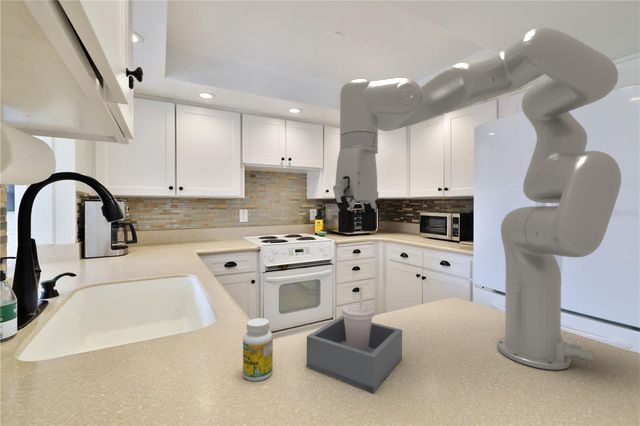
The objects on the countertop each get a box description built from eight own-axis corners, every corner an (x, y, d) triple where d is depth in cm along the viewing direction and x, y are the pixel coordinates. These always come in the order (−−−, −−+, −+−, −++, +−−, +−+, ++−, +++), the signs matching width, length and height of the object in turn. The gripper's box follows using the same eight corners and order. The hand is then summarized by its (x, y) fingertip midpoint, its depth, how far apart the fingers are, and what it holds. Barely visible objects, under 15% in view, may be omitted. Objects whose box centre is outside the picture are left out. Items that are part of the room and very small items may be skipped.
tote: (401, 358, 59) (402, 329, 59) (373, 393, 48) (374, 357, 48) (342, 341, 67) (343, 315, 67) (306, 367, 55) (306, 336, 56)
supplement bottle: (278, 370, 54) (278, 320, 54) (259, 385, 49) (259, 329, 50) (256, 363, 57) (257, 314, 57) (236, 376, 52) (236, 323, 52)
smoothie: (373, 367, 54) (374, 292, 54) (339, 364, 55) (340, 290, 55) (373, 351, 60) (374, 284, 60) (343, 348, 61) (343, 282, 61)
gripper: (361, 155, 67) (360, 229, 67) (318, 139, 53) (318, 232, 52) (392, 151, 63) (391, 230, 62) (355, 133, 48) (354, 234, 48)
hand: (358, 231), depth 57 cm, fingers open, 9 cm apart
